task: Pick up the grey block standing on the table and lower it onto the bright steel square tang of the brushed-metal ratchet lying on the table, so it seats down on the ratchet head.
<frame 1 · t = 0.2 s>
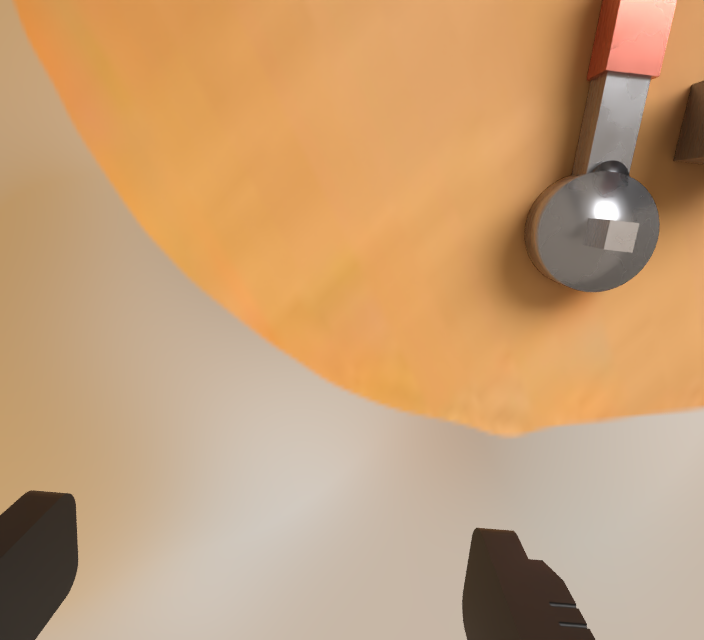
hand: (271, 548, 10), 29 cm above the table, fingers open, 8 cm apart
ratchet: (594, 159, 36), on the table
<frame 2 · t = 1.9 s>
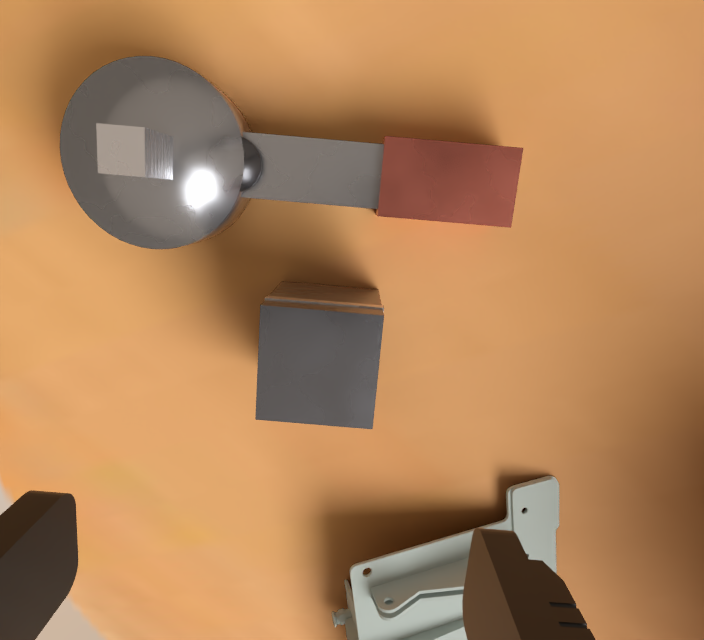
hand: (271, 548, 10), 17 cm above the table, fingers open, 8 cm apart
grey block: (326, 331, 27), on the table
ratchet: (277, 170, 25), on the table
metal bracket: (450, 587, 31), on the table
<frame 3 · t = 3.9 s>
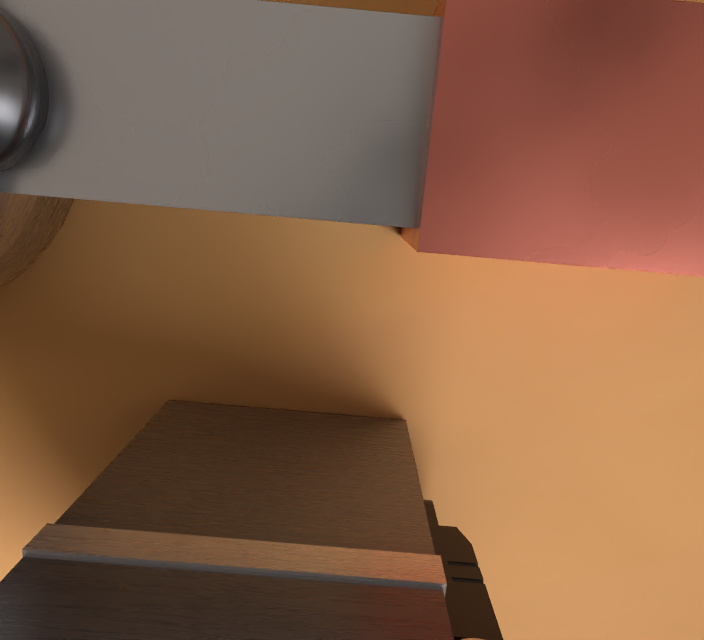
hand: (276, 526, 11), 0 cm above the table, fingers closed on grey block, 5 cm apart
grey block: (281, 514, 11), on the table, touching gripper
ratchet: (141, 120, 9), on the table
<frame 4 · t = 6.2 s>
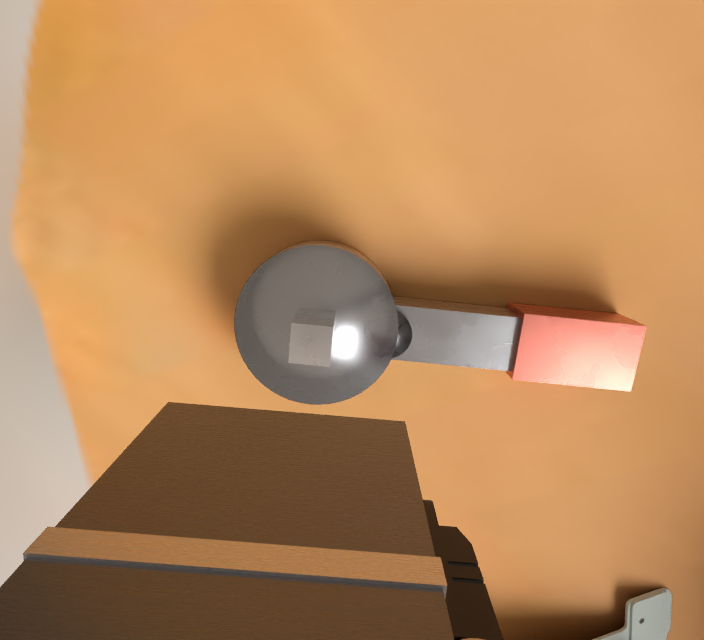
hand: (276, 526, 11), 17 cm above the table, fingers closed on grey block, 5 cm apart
grey block: (280, 516, 11), point 17 cm above the table, touching gripper
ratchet: (411, 323, 28), on the table
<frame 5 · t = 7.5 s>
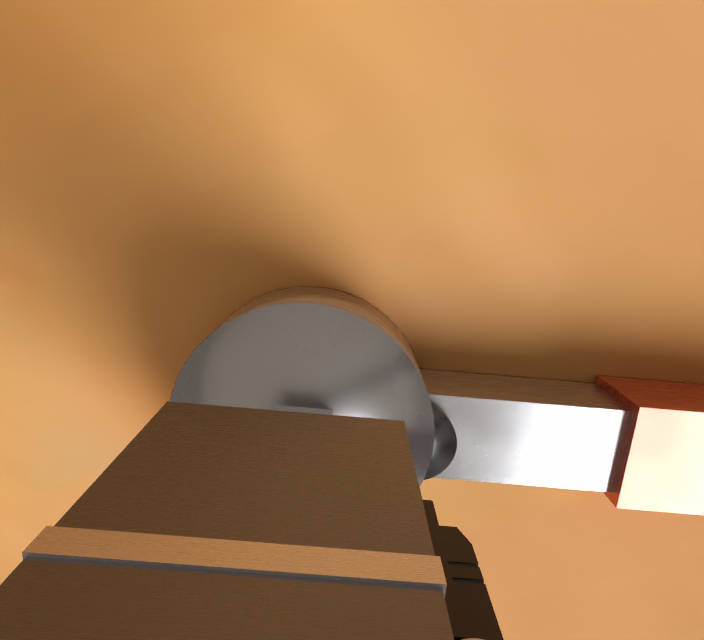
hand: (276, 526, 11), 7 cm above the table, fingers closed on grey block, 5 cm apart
grey block: (280, 515, 11), point 7 cm above the table, touching gripper
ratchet: (449, 408, 18), on the table
when the fingers open (4 cm above the table, at t = 8.6 s): grey block stays where it is, resting on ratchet.
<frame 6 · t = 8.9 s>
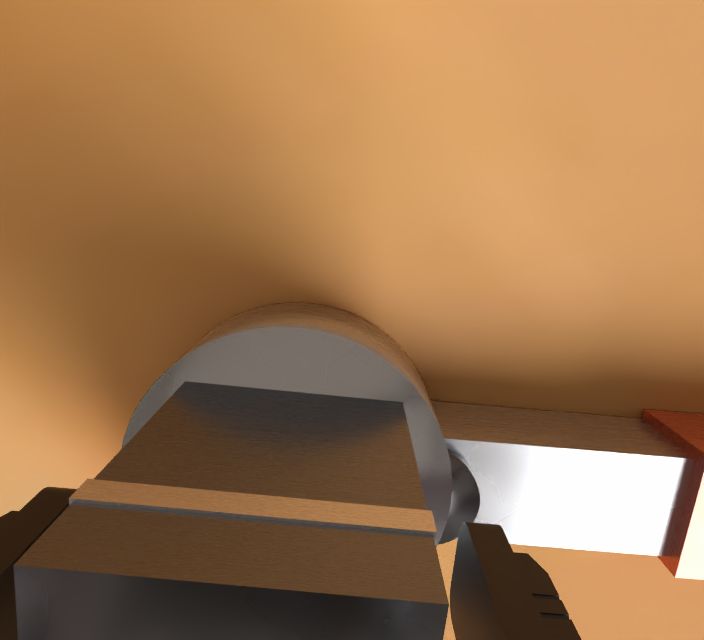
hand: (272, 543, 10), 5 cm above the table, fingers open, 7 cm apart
grey block: (286, 488, 12), point 3 cm above the table, touching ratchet
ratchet: (466, 447, 15), on the table
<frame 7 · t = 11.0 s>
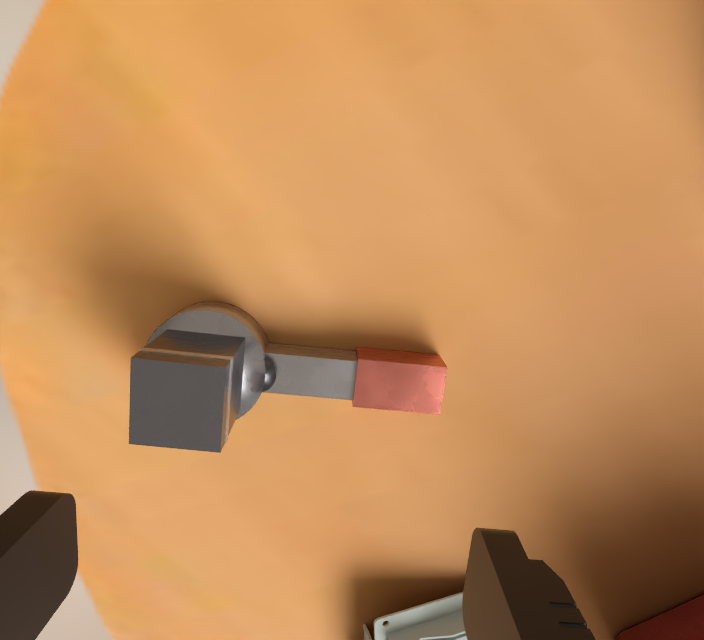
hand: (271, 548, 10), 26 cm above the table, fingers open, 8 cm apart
grey block: (204, 369, 34), point 3 cm above the table, touching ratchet
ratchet: (284, 362, 37), on the table
metal bracket: (438, 630, 43), on the table
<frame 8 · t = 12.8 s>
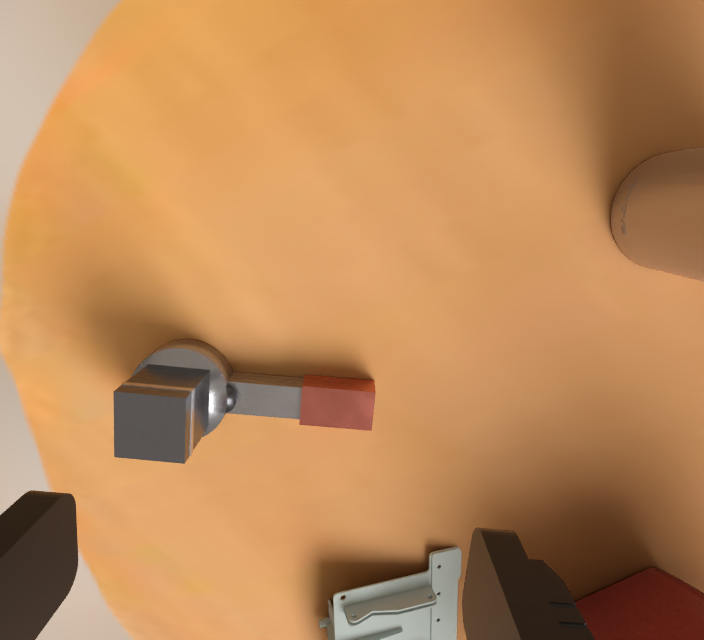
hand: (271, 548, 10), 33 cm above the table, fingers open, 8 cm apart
grey block: (178, 395, 42), point 3 cm above the table, touching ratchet
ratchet: (247, 388, 45), on the table
metal bracket: (393, 608, 51), on the table
plant pot: (620, 636, 51), on the table
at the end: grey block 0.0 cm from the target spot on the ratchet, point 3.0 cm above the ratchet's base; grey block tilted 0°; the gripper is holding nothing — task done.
